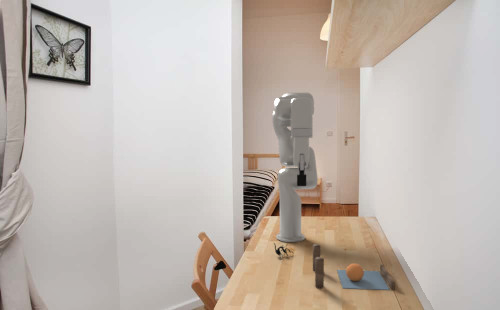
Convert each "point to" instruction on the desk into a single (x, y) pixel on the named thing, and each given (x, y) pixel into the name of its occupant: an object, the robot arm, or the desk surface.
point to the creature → (281, 250)
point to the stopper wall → (387, 277)
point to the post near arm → (315, 253)
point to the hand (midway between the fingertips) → (301, 185)
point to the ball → (354, 272)
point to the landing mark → (363, 281)
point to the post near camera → (319, 272)
